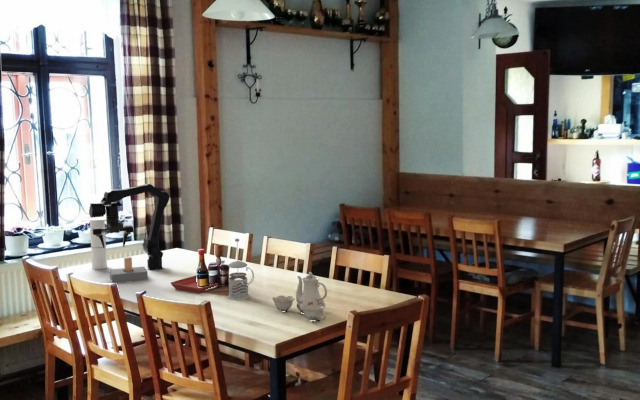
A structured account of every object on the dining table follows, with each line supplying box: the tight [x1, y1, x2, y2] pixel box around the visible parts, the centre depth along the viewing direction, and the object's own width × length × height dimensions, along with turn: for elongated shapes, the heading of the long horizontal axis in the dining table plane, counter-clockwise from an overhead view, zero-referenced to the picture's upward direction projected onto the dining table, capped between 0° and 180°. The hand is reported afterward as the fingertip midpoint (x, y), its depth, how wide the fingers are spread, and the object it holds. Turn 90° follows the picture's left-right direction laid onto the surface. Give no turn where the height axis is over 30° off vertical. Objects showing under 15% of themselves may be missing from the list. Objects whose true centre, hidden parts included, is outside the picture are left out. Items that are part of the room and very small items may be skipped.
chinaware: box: [272, 271, 328, 321], centre depth 256 cm, size 28×17×17 cm, turn 47°
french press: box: [226, 238, 255, 301], centre depth 282 cm, size 10×12×25 cm
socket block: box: [109, 266, 149, 284], centre depth 318 cm, size 16×12×4 cm
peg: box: [123, 256, 133, 272], centre depth 317 cm, size 3×3×10 cm
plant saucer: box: [170, 275, 218, 294], centre depth 300 cm, size 18×18×3 cm
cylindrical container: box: [89, 217, 108, 270], centre depth 342 cm, size 7×7×25 cm
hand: (113, 247), depth 327 cm, fingers open, 9 cm apart
